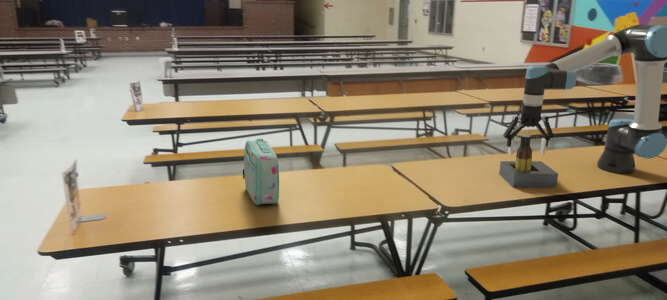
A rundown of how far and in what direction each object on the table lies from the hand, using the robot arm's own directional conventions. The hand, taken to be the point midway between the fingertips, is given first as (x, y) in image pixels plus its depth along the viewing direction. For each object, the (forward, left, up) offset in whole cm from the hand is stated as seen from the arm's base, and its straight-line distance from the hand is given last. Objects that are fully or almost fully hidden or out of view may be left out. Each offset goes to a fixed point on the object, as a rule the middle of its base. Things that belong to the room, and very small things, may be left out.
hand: (526, 154), depth 197 cm
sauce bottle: (0, 0, -12) cm, 12 cm away
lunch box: (+109, +17, -12) cm, 111 cm away
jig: (-2, 0, -12) cm, 12 cm away
